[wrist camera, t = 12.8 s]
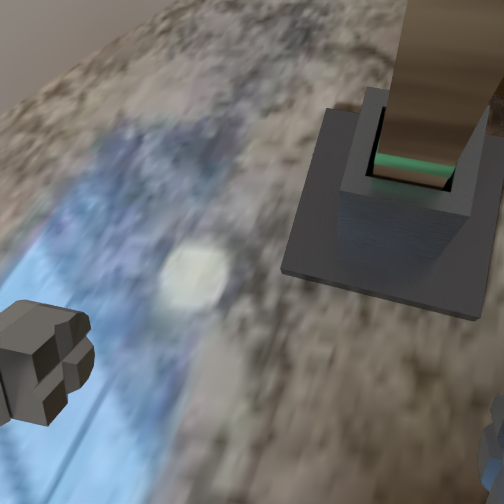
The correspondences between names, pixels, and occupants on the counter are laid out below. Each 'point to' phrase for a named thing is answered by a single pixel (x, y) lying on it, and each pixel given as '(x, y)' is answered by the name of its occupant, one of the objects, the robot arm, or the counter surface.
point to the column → (439, 88)
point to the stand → (396, 219)
